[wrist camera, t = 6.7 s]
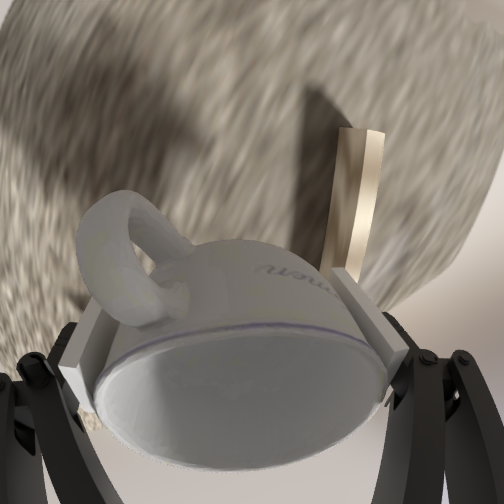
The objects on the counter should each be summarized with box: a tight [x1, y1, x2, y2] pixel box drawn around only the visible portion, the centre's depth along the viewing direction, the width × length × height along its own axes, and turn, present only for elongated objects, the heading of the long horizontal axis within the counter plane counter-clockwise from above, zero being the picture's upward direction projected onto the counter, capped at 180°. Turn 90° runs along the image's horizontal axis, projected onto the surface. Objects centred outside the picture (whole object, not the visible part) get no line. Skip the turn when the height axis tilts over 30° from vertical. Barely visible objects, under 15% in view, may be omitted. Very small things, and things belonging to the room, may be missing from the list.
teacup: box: [76, 190, 388, 473], centre depth 11 cm, size 14×11×8 cm
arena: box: [319, 127, 385, 283], centre depth 21 cm, size 20×22×4 cm
